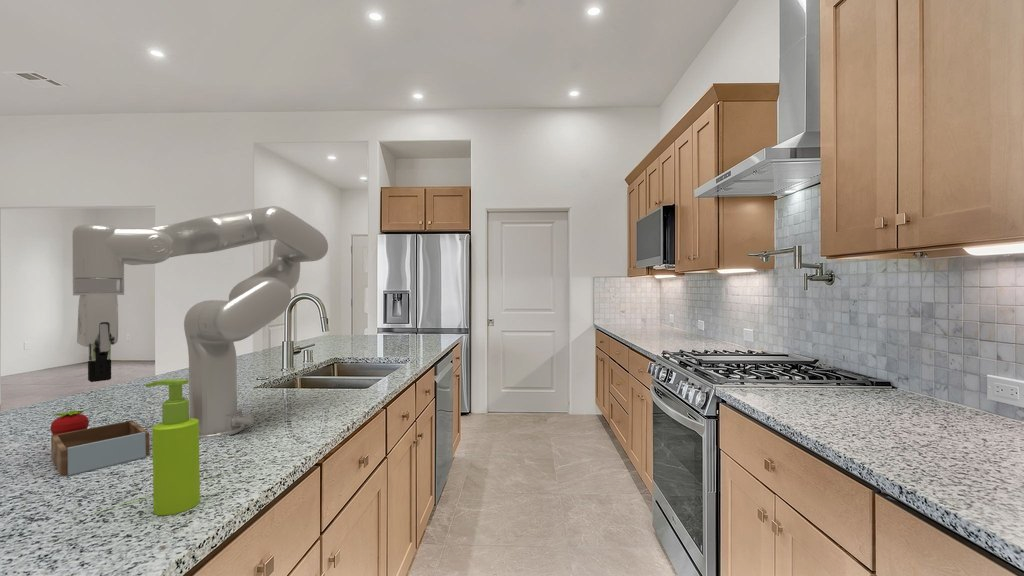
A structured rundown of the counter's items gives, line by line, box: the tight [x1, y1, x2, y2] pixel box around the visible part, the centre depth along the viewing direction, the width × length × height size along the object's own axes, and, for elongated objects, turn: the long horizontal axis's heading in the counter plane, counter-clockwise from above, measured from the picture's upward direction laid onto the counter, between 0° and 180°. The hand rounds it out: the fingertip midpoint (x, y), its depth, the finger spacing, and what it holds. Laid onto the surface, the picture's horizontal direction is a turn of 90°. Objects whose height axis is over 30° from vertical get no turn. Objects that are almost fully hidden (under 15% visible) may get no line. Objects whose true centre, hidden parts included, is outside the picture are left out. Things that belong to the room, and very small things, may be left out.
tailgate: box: [67, 432, 147, 478], centre depth 85 cm, size 1×11×5 cm, turn 141°
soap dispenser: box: [144, 378, 201, 516], centre depth 71 cm, size 6×7×20 cm
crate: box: [50, 420, 151, 477], centre depth 90 cm, size 14×13×6 cm
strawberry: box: [49, 403, 90, 435], centre depth 97 cm, size 6×8×10 cm
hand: (99, 380), depth 89 cm, fingers closed
